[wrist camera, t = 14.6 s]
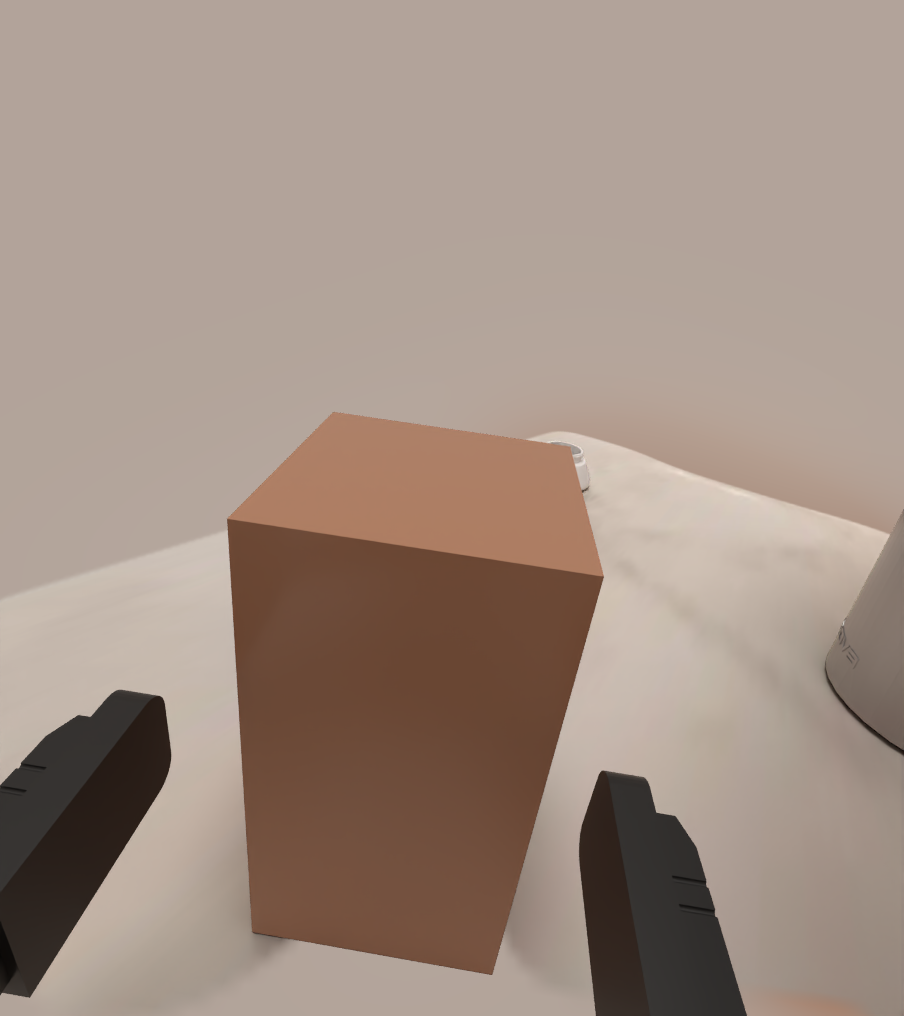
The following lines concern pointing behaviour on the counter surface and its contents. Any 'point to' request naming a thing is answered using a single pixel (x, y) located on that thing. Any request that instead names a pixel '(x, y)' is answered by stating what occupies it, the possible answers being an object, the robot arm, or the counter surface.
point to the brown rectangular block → (404, 679)
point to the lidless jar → (578, 463)
